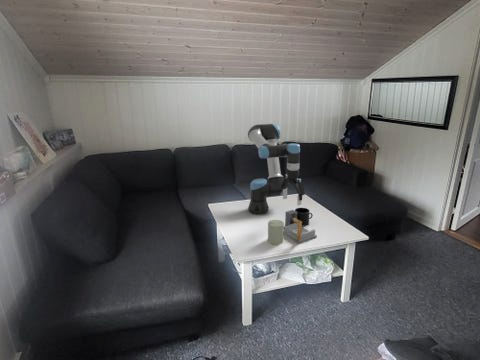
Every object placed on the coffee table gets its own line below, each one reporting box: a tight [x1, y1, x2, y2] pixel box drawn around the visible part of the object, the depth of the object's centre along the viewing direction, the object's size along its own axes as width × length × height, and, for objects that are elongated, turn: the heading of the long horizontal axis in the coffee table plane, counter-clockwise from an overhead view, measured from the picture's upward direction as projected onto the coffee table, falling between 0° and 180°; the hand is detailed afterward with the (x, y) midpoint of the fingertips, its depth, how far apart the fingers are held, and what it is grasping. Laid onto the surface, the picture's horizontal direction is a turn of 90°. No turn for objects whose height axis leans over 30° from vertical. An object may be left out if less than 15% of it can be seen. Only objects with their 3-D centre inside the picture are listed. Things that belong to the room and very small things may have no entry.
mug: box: [294, 207, 314, 227], centre depth 195 cm, size 9×12×9 cm
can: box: [267, 219, 285, 246], centre depth 172 cm, size 9×9×12 cm
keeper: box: [283, 218, 318, 244], centre depth 178 cm, size 16×14×14 cm
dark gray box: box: [284, 209, 297, 227], centre depth 190 cm, size 5×6×10 cm
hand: (292, 201), depth 186 cm, fingers open, 13 cm apart
